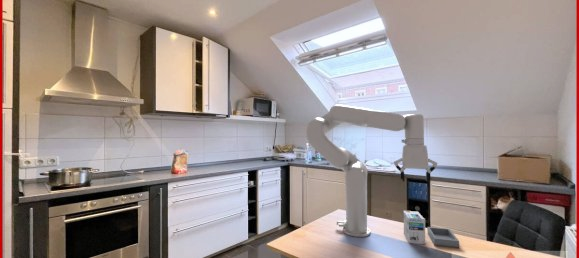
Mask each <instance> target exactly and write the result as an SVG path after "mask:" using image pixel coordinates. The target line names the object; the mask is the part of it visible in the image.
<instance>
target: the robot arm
mask: <svg viewBox="0 0 579 258" xmlns="http://www.w3.org/2000/svg"><path fill="white" fill-rule="evenodd" d="M424 120H425V119H424V115H423V114H421V113H409V114H400V113H396V112H390V111H389V112H387V111H383V110H382V111H381V110H375V109H374V110H373V109H370V108H364V107H357V106H352V105H351V106H349V105H343V104H334V105H333V106H331V107H330V109H329V112H327V113H326V114H324V115H323V116H321V117H315V118H312V119H310V121H309V122H308V124H307V126H306V130H305V133H306V138H307V142H308V143H309V145H310V146H311V147H312V148H313V149H314V150H315V151H317V153H319V154H320V156H321V157H322V158H323V159H325V160H326V162H328V163H329V164H330V165H331V166H332V167H333V168H335V169H338V170H342V171H343V172H344V173H345V176H344V177H345V179H344V180H345V220H336V226H338V227H342V232H343V233H344V234H345V235H347V236H351V237H357V238H365V237H368V236H370V235H371V233H372V232H371V229H370V228H369V227H368V168H367V166H366V165H365V164H364V163H363V162H362V161H361V160H360V159H359V158H358V157H356V156H355V155H354V154H353V153H352V152H351V151H350V150H348V149H347V148H345V147H339V146H338V145H337V144H336V143H334V141H332V140H331V139H330V138H329V137H327V135H326V134H327V133H329V132H331V131H332V130H333V129H335V128H336V127H338V126H340V125H341V124H344V125H345V124H346V125H350V126H357V127H362V128H374V129H380V130H387V131H391V132H400V131H403V130H404V139H401V143H403V147H402V155H401V156H402V157H401V158H398V159H397V160H395V161H393V164H394V166H395V168H396V169H397V170H398V171H399V172H400V180H402V182H405V172H404V171H405V170H406V169H411V170H412V169H417V170H425V181H426V182H427V183H430V181H431V173H432V172H433V171H434V170H435V169H436V167H437V165H438V162H437V161H434V160H432V159H431V158H429V155H428V148H427V145H425V126H424V124H425V121H424ZM399 163H402V164H401V165H402V166H401V167H400V165H399ZM429 163H430V164H432V165H431V166H430V167H429Z"/></svg>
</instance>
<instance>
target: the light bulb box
mask: <svg viewBox="0 0 579 258" xmlns="http://www.w3.org/2000/svg"><path fill="white" fill-rule="evenodd" d="M403 234H404V237H405V239H406V240H407V242H408V244H416V245H417V244H418V245H426V218H424V217H423V215H421V213H420V212H419V211H417V210H416V211H411V210H403Z"/></svg>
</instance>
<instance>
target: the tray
mask: <svg viewBox="0 0 579 258" xmlns="http://www.w3.org/2000/svg"><path fill="white" fill-rule="evenodd" d="M426 232H427V235H428V237H429V239H430V240H431V242H432V244H433V246H434V247H435V246H436V247H443V248H452V249H460V240H459V239H458V238H457V236H456V235H455V234H454V232H453V231H452V230H451V229H450V228H444V227H443V228H442V227H433V226H427V231H426Z"/></svg>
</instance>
